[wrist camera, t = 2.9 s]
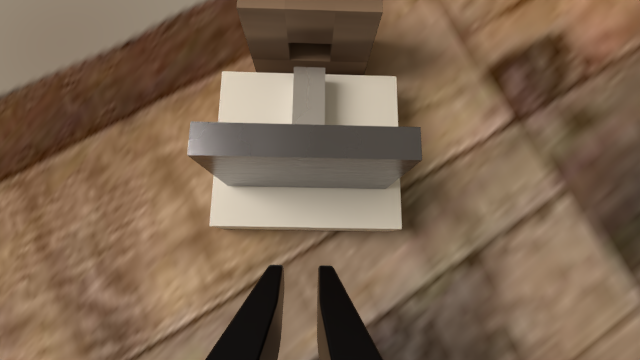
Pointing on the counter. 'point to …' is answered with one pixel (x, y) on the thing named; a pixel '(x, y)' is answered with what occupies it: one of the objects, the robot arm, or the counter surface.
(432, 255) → the counter surface
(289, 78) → the door block
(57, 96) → the counter surface
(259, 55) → the block
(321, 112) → the grey piece
